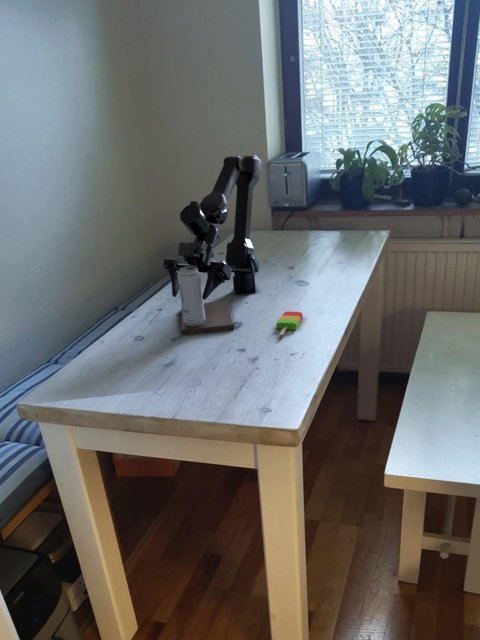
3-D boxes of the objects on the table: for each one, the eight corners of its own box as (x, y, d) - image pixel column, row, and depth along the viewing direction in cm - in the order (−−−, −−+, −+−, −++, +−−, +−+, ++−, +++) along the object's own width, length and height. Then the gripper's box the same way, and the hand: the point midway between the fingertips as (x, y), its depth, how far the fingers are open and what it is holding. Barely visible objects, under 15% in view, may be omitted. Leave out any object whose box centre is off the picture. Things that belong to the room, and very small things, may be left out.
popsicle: (303, 317, 169) (303, 311, 168) (291, 338, 157) (290, 331, 156) (284, 317, 171) (284, 310, 170) (270, 337, 159) (270, 331, 158)
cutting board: (228, 305, 182) (227, 300, 181) (233, 329, 165) (233, 324, 164) (181, 310, 181) (181, 305, 180) (182, 335, 164) (182, 329, 164)
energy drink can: (182, 321, 169) (174, 267, 161) (203, 317, 170) (197, 264, 162) (186, 328, 164) (178, 273, 156) (207, 324, 165) (201, 270, 157)
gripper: (159, 227, 160) (144, 281, 158) (222, 229, 153) (206, 285, 151) (178, 249, 171) (164, 300, 168) (238, 252, 164) (223, 305, 161)
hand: (188, 297), depth 162 cm, fingers open, 9 cm apart
